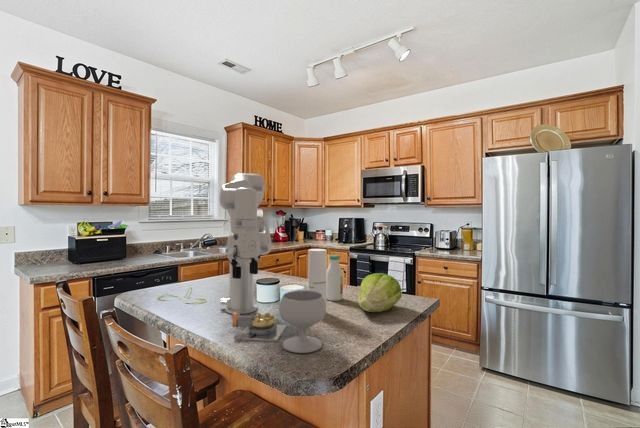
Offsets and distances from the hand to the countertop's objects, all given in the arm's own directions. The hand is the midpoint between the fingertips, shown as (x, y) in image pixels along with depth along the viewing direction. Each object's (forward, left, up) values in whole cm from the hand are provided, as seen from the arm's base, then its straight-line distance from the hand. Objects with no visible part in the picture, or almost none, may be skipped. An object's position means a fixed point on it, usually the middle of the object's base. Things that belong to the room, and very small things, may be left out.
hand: (245, 275), depth 109 cm
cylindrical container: (+22, +20, -18) cm, 35 cm away
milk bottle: (+27, +42, -18) cm, 53 cm away
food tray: (+4, -3, -15) cm, 16 cm away
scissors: (-41, +32, -19) cm, 56 cm away
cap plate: (+7, -3, -18) cm, 19 cm away
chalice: (+22, -11, -18) cm, 30 cm away
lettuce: (+45, +27, -18) cm, 56 cm away
